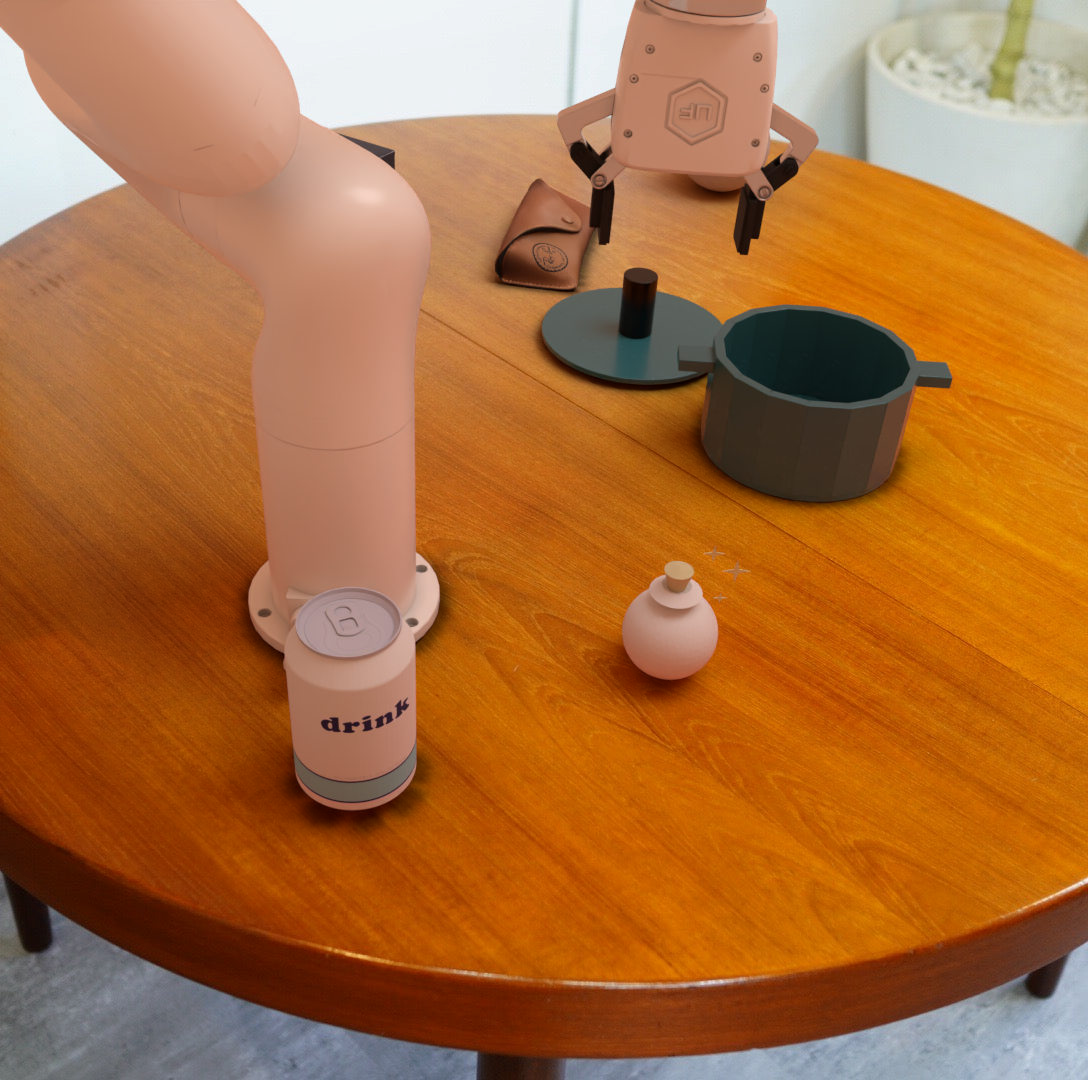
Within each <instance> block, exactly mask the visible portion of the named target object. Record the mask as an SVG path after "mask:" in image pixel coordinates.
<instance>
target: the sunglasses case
mask: <svg viewBox="0 0 1088 1080" xmlns="http://www.w3.org/2000/svg"><path fill="white" fill-rule="evenodd" d="M589 217H590V206H588V205H586V204H583V203H582V202H580V201H578V200H577V199H575V198H573V197H570V196H568V195H566V194H565V193H563V192H561V191H559V190H557V189H555V188H553V187H551V186H550V185H549V184H548V183H547V182H545V181H544V180H543V179H542V178H539V177H538V178H536V179H534V181H533V182H532V183H531V184H530V185H529V187H528V189H527V192H526V193H525V195H524V196H523V198H522V200H521V201H520V203H519V206H518V207H517V209H516V212H515V213H514V216H513V218H512V220H511V223H510V225H509V226H508V229H507V230H506V233H505V235H504V238H503V240H502V242H501V245H500V248H499V250H498V253H497V257H496V259H495V261H494V271H495V272H494V273H496V276H497V277H498V278H499V280H500V281H501V282H502V283H504V284H507V285H515V286H518V287H524V288H531V289H538V290H539V289H540V290H555V291H571V290H575V289H577V288H578V287H579V283H580V277H581V276H580V275H581V271H582V270H581V269H582V263H583V260H584V258H585V255H586V251H587V249H588V245H589V243H590V241H591V238H592V236H593V233H594V232H595V229H596V228H591V227H589Z"/></svg>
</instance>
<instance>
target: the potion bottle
mask: <svg viewBox="0 0 1088 1080" xmlns="http://www.w3.org/2000/svg"><path fill="white" fill-rule="evenodd" d="M725 554H726V553H725V552H719V551H717V545H716V544H715V545H714V548H713V550H712V551H709V552H703V555H708V556H711V560H712V562H714V560H715V558H716V557H717V556H721V555H725ZM721 572H723V573H728V574H732V575H733V583H735V582H736V580H737V578H738V575H739V574H744V573H745V574H746V573H751V570H747V569H741V568H740V563H739V560H737V562H736V564H735V566H734V568H732V569H731V568H730V569H726V570H725V569H724V570H721ZM694 574H695V569H694V567H693V566H692V565H691V564H690V563H688V562H686V561H682V560H672V561H669V562H667V563H666V564H665V565H664V574H663V575H660V576H658V577H655V578H654V579H653V580H652V581H651V582H650V584H649V588H647V589H646V590H644V591H642V592H641V593H640V594H638V595H637V596H636V597H635V598H634V599H633V601H631V603H630V604H629V606H628V608H627V609H626V611H625V614H624V617H623V620H622V625H621V637H622V643H623V646H624V649H625V652H626V653H627V655H628V657H629V659H630V660H631V662H632V663H633V664H634V665H635V666H636V667H637V668H638V669H639V670H641V671H642V672H643V673H645V674H647V675H649V676H651V677H654V678H656V679H660V680H666V681H668V680H669V681H673V680H675V681H676V680H681V679H684V678H688V677H690V676H692V675H694V674H696V673H697V672H699V671H700V670H701V669H702V668H704V667H705V666H706V664H708V662H709V661H710V659H711V658H712V656H713V654H714V652H715V651H716V647H717V644H718V639H719V625H718V620H717V617H716V614H715V612H714V610H713V608H712V606H711V604H710V603H709V602H708V601H707V599H705V597H704V596H703V595H704V593H703V589H702V587H701V585H700V584H699V583H698V582H696V581H695V580H694V579H693V576H694ZM713 599H714V600H715V599H716V600H718V604H720V603H721V601H722V600H725V599H727V597H725V596H723V595H722V593H720V594H719V596H715V597H713Z"/></svg>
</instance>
